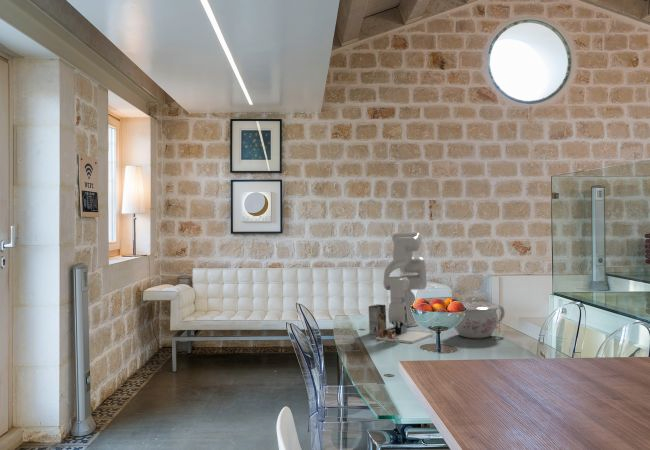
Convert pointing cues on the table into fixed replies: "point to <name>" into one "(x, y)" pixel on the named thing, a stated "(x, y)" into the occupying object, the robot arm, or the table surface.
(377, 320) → the coffee box
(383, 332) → the tong base
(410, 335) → the plate
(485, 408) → the table surface
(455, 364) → the table surface
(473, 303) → the chamber pot
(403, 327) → the tong arm
